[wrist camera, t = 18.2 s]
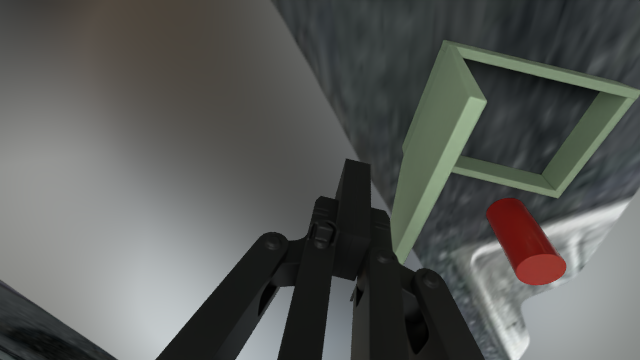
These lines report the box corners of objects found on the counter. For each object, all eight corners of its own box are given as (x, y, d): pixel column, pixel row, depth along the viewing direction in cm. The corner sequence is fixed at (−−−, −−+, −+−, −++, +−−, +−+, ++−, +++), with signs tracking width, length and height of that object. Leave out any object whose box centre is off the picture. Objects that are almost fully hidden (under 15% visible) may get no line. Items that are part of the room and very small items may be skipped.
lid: (488, 101, 13) (469, 96, 14) (388, 294, 21) (377, 290, 21) (456, 46, 31) (448, 44, 31) (408, 163, 38) (401, 161, 38)
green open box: (610, 79, 35) (642, 91, 31) (540, 178, 43) (558, 198, 38) (442, 38, 35) (451, 45, 31) (401, 144, 43) (404, 160, 39)
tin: (529, 199, 44) (577, 260, 34) (510, 225, 47) (549, 289, 37) (494, 190, 44) (531, 249, 34) (477, 217, 47) (507, 279, 37)
